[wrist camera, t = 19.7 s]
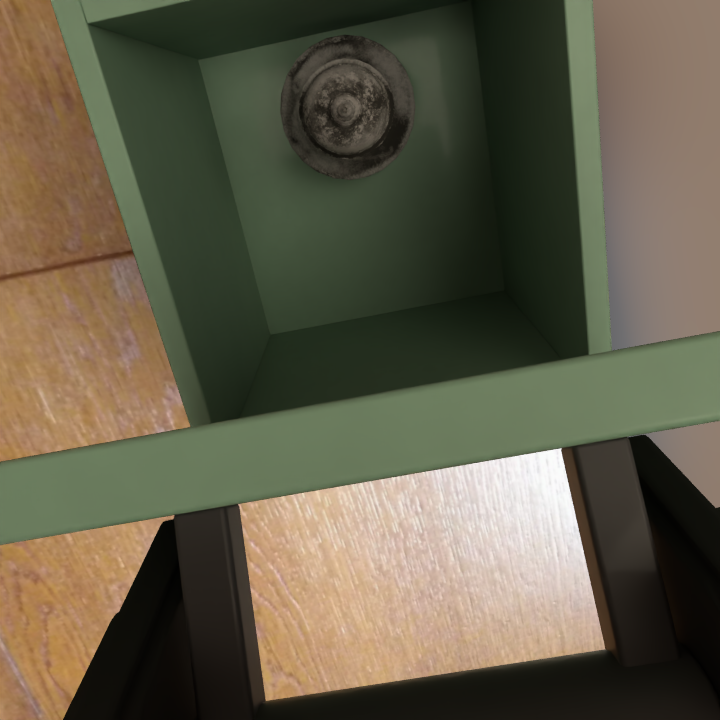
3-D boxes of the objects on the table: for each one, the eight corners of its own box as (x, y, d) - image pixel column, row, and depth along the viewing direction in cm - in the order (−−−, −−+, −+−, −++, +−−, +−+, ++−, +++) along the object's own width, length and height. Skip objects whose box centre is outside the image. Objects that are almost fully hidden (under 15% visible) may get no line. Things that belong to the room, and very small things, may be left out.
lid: (-335, 521, 6) (-344, 1136, 6) (1195, 243, 6) (1478, 925, 5) (203, 477, 23) (223, 633, 22) (618, 404, 22) (656, 564, 21)
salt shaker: (283, 45, 30) (240, 6, 19) (408, 40, 30) (440, -2, 19) (292, 174, 32) (259, 209, 21) (409, 170, 32) (438, 202, 21)
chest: (181, 46, 31) (48, -3, 17) (482, -20, 30) (586, -126, 16) (261, 345, 36) (207, 481, 23) (517, 297, 35) (615, 410, 22)
